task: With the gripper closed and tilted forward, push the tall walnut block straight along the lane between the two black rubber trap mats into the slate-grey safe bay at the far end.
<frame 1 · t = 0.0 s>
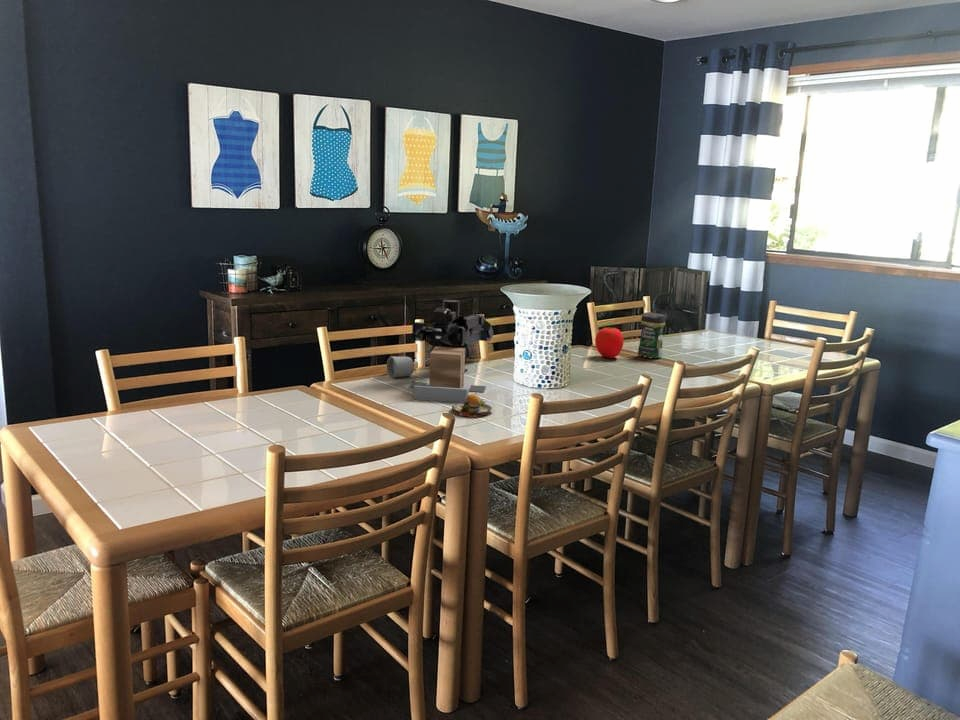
hand: (428, 337, 256), 17 cm above the table, tool horizontal, fingers open, 9 cm apart
coffee jar: (649, 357, 324), on the table
red apple: (608, 358, 319), on the table
burger: (471, 413, 231), on the table
ceramic mug: (398, 376, 273), on the table
safe bay: (443, 393, 251), on the table
trap mats: (447, 387, 259), on the table
walnut block: (446, 388, 257), on the table
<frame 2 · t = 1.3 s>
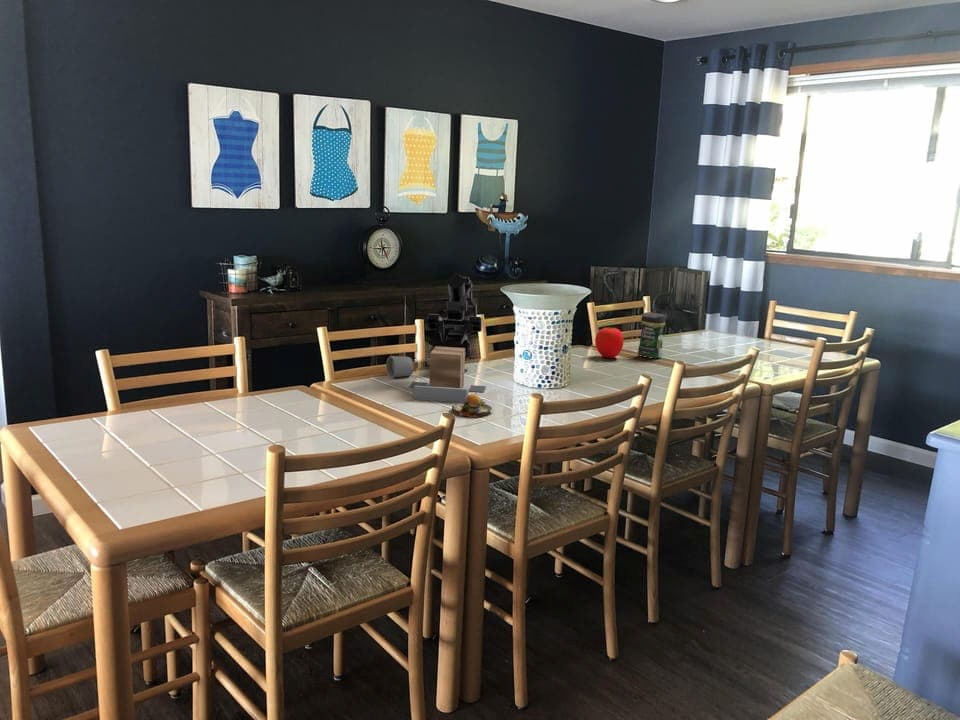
hand: (451, 342, 264), 14 cm above the table, tool tilted 45°, fingers open, 6 cm apart
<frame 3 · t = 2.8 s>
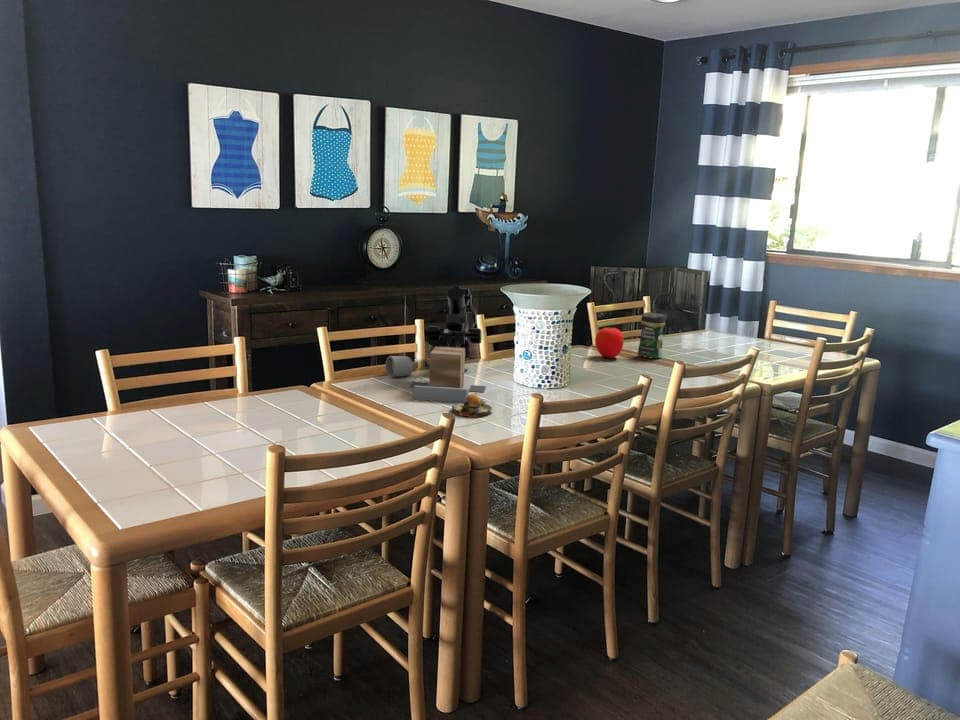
hand: (451, 354, 265), 9 cm above the table, tool tilted 45°, fingers closed
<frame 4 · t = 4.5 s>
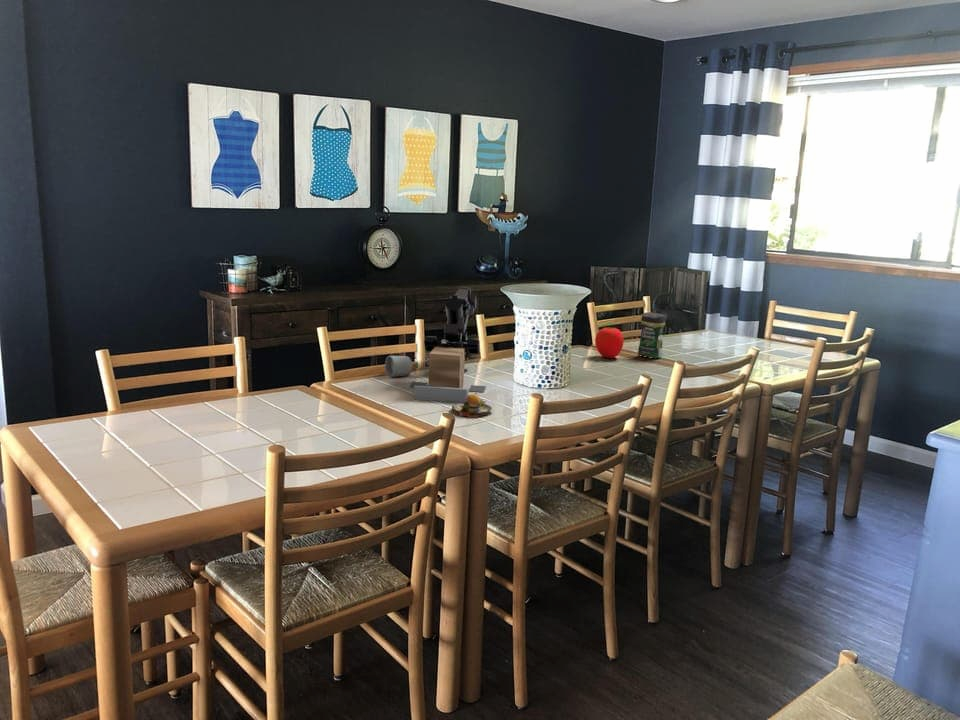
hand: (449, 365, 261), 7 cm above the table, tool tilted 45°, fingers closed, pressing on walnut block
walnut block: (446, 389, 256), on the table, touching gripper
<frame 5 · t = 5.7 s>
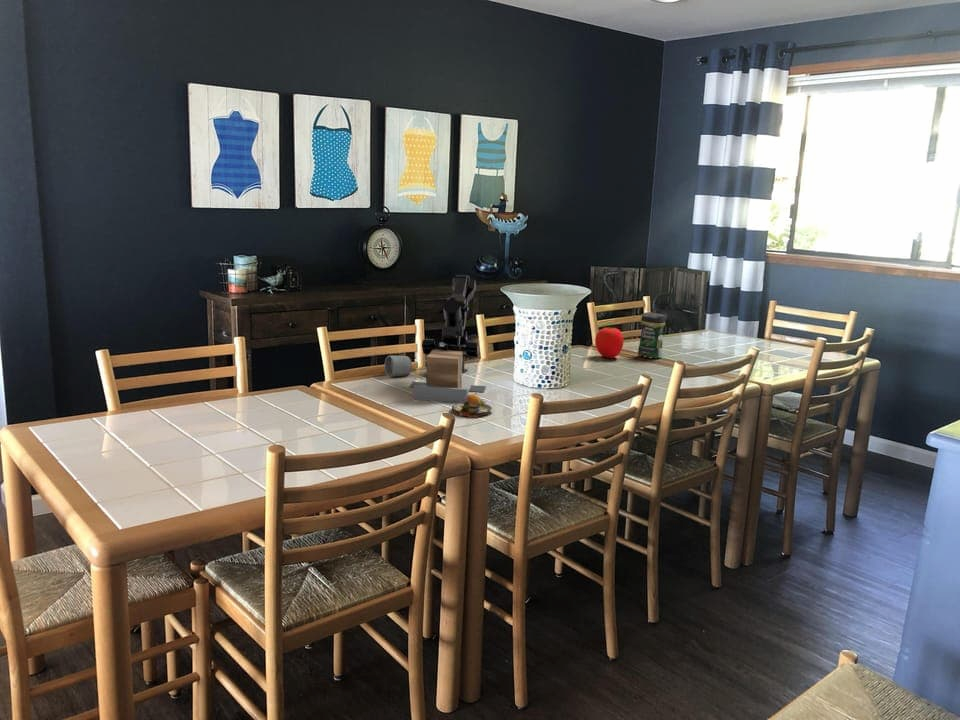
hand: (447, 369, 256), 7 cm above the table, tool tilted 45°, fingers closed
walnut block: (443, 393, 251), on the table
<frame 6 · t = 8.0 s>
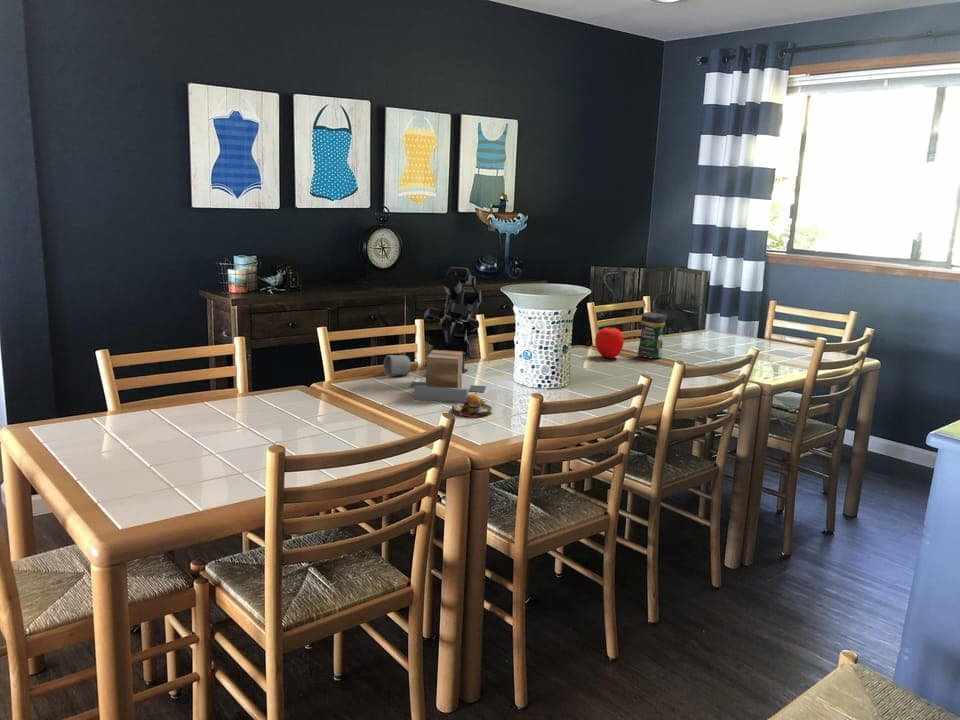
hand: (448, 342, 266), 13 cm above the table, tool tilted 30°, fingers closed
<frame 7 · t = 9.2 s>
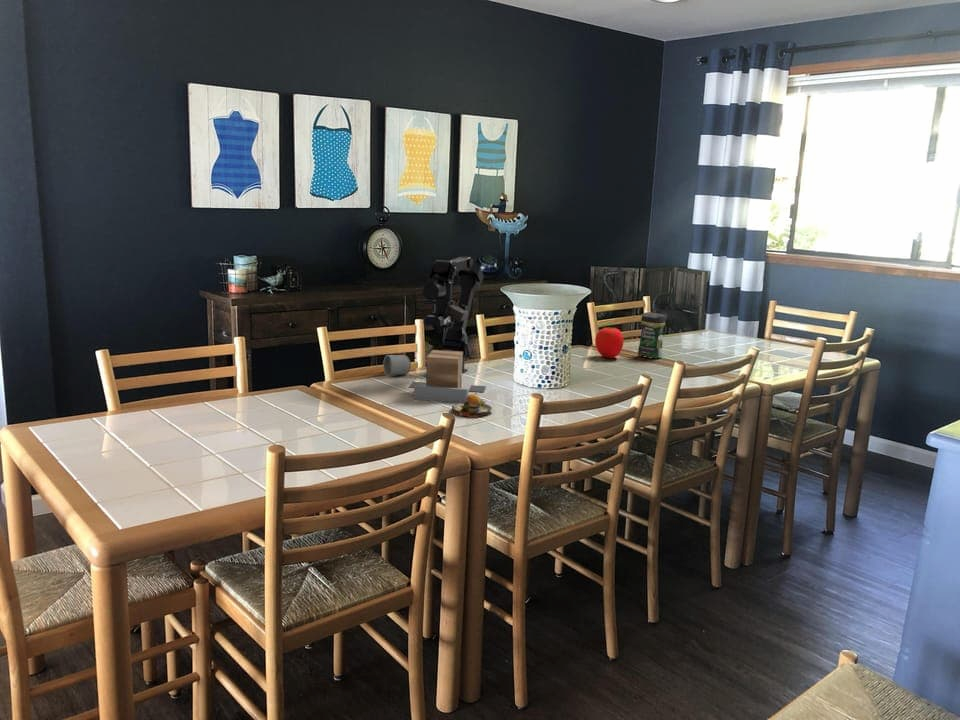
hand: (441, 342, 267), 13 cm above the table, tool pointing down, fingers closed
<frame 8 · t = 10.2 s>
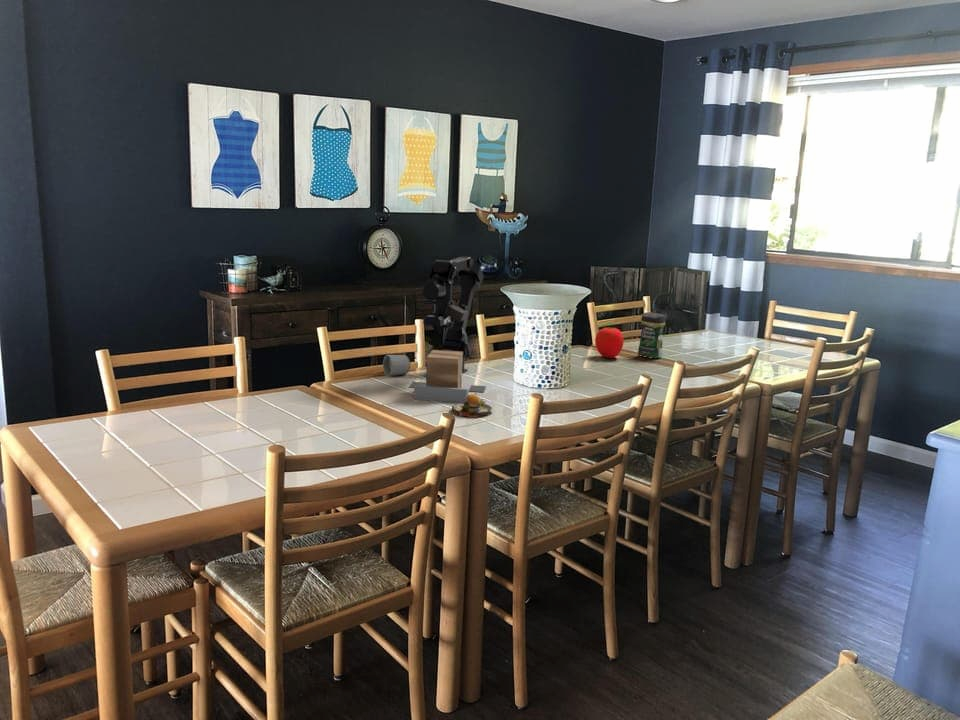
hand: (441, 342, 267), 13 cm above the table, tool pointing down, fingers closed
at the end: walnut block 0.7 cm from the safe bay (horizontally); walnut block touching table; walnut block tilted 0° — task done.
